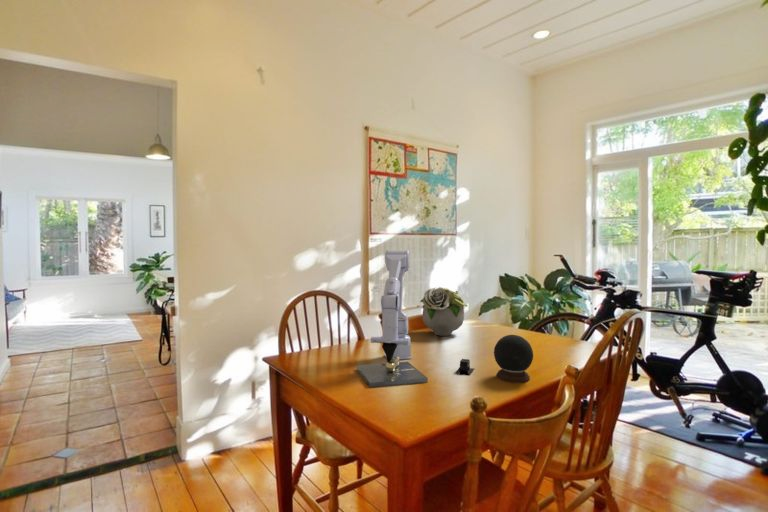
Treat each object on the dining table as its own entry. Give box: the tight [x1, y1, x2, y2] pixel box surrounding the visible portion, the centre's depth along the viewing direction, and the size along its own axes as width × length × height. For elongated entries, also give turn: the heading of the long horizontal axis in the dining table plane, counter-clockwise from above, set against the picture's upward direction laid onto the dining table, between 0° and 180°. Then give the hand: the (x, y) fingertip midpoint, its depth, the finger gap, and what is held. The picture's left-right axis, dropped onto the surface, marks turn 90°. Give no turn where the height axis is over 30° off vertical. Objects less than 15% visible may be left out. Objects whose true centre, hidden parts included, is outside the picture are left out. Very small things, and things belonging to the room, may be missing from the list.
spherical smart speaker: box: [493, 334, 534, 384], centre depth 146 cm, size 13×13×15 cm
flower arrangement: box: [420, 287, 469, 337], centre depth 214 cm, size 25×25×24 cm
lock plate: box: [356, 361, 429, 388], centre depth 147 cm, size 20×20×2 cm
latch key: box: [385, 357, 400, 372], centre depth 151 cm, size 11×3×2 cm, turn 164°
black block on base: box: [454, 358, 475, 377], centre depth 153 cm, size 12×7×5 cm, turn 158°
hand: (389, 363), depth 154 cm, fingers closed
